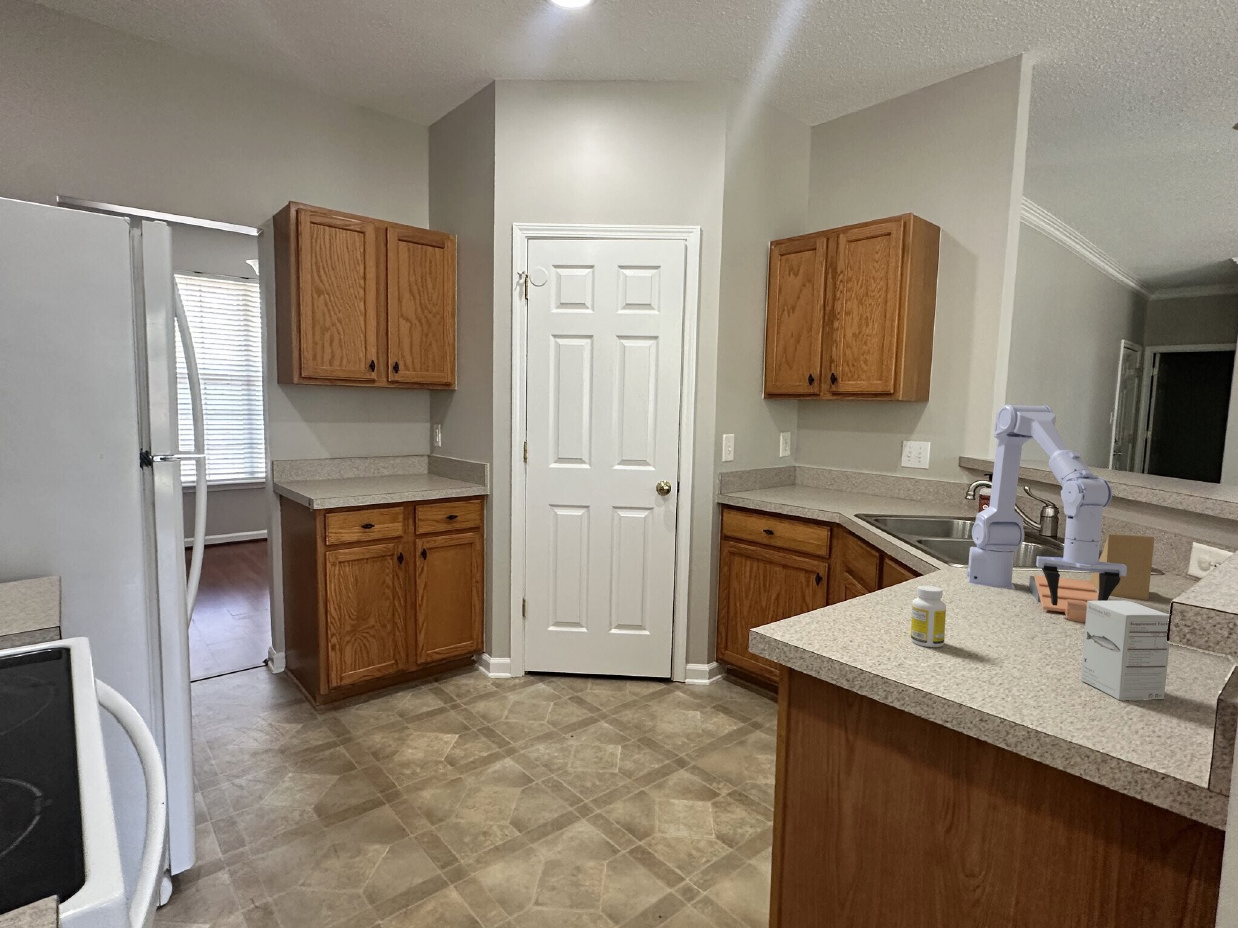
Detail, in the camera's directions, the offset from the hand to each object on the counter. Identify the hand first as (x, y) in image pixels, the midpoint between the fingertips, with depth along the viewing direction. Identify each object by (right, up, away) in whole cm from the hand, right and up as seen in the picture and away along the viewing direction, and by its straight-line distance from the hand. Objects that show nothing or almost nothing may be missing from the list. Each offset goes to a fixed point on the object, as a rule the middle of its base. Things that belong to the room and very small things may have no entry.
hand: (1077, 606), depth 131 cm
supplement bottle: (-36, -3, -15) cm, 39 cm away
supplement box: (-17, -5, -33) cm, 38 cm away
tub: (+7, -2, +16) cm, 18 cm away
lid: (+3, 0, +6) cm, 7 cm away
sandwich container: (+27, -2, +25) cm, 37 cm away
